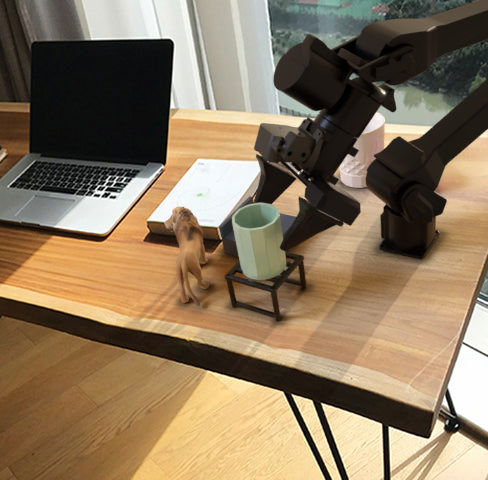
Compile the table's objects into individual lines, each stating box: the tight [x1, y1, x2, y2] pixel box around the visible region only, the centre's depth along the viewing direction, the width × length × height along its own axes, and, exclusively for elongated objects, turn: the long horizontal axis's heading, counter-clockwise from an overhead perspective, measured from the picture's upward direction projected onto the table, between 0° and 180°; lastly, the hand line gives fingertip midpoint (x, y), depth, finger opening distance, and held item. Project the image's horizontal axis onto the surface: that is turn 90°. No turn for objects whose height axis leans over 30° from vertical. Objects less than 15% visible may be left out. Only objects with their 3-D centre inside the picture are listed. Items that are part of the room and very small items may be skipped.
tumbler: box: [232, 202, 287, 281], centre depth 88 cm, size 6×6×8 cm
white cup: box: [338, 111, 386, 189], centre depth 109 cm, size 8×8×10 cm
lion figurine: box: [164, 206, 210, 307], centre depth 98 cm, size 15×5×9 cm, turn 6°
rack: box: [224, 251, 308, 322], centre depth 92 cm, size 8×8×6 cm
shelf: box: [218, 195, 297, 258], centre depth 102 cm, size 9×9×5 cm
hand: (267, 232), depth 88 cm, fingers open, 9 cm apart
